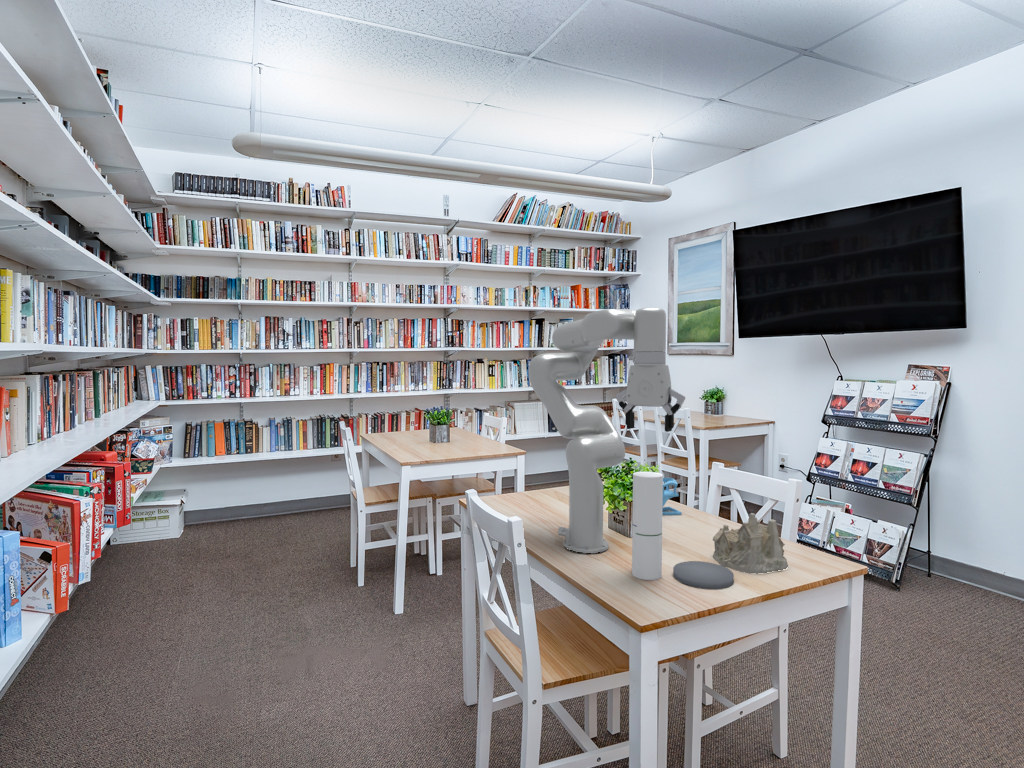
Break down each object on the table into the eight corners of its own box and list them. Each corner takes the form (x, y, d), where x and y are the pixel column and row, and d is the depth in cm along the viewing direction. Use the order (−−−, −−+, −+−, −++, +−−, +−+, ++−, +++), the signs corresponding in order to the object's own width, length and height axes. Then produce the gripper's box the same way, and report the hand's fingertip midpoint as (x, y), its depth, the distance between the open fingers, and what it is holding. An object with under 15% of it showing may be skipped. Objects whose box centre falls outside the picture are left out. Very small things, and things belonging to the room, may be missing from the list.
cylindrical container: (651, 567, 148) (652, 470, 147) (667, 578, 141) (668, 476, 140) (626, 571, 146) (627, 472, 144) (641, 581, 139) (642, 478, 138)
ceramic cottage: (798, 570, 146) (794, 510, 146) (739, 578, 142) (736, 517, 142) (759, 553, 161) (756, 499, 161) (705, 560, 158) (702, 505, 158)
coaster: (664, 580, 140) (665, 574, 140) (683, 563, 151) (683, 557, 151) (724, 593, 132) (724, 587, 132) (739, 574, 143) (740, 568, 143)
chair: (648, 511, 202) (648, 477, 201) (669, 508, 204) (669, 475, 204) (660, 517, 194) (660, 481, 194) (682, 514, 197) (682, 479, 196)
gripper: (610, 359, 142) (609, 429, 143) (679, 359, 133) (679, 434, 133) (622, 359, 149) (622, 426, 149) (690, 359, 139) (689, 430, 140)
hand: (649, 429), depth 141 cm, fingers open, 9 cm apart
